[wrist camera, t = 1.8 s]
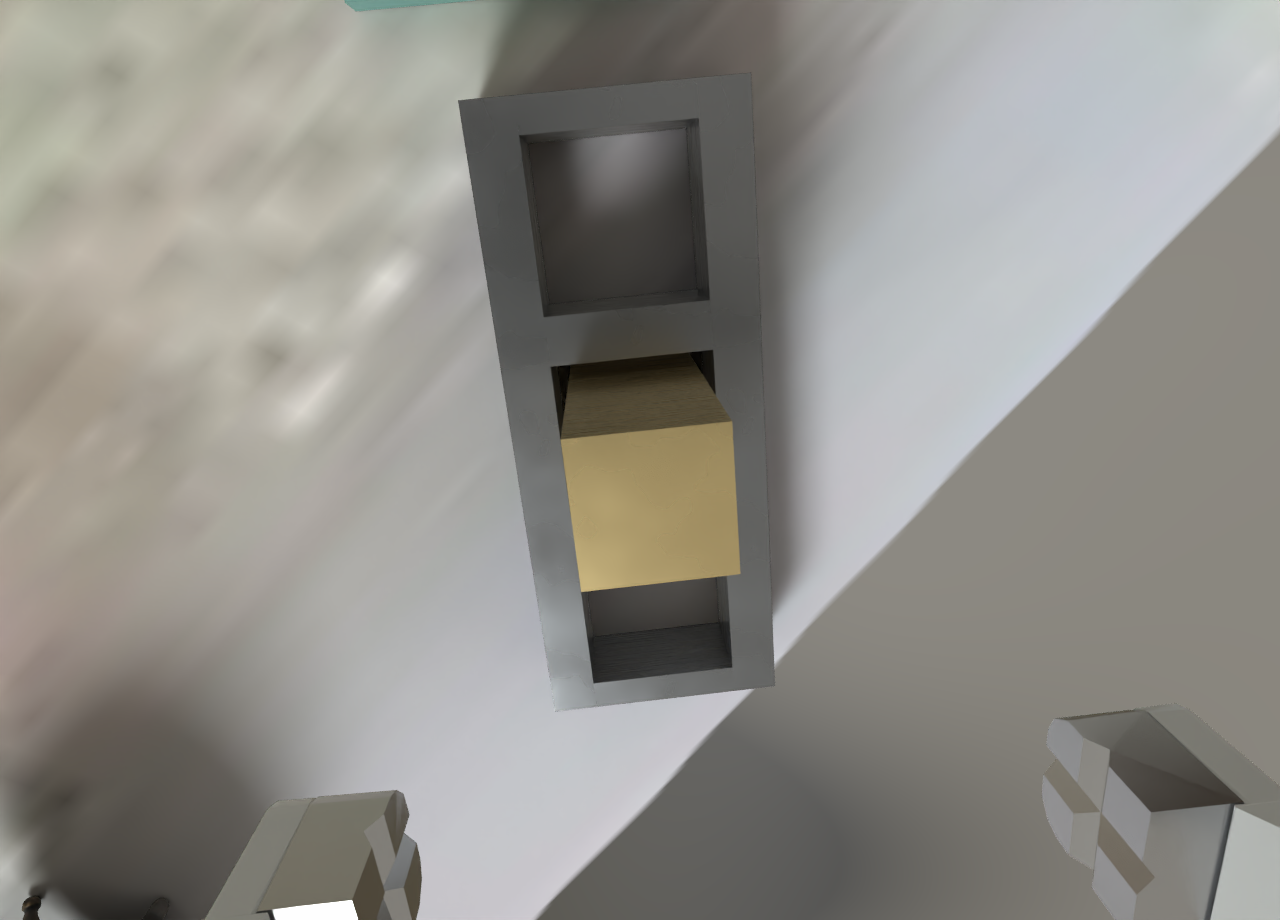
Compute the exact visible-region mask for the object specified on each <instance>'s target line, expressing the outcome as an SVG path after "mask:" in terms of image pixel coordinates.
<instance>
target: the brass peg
mask: <svg viewBox="0 0 1280 920" xmlns="http://www.w3.org/2000/svg"><path fill="white" fill-rule="evenodd" d="M561 447H562V454H563V461H564V469H565V476H566V483H567V491H568V498H569V506H570V513H571V520H572V528H573V535H574V542H575V550H576V557H577V565H578V572H579V579H580V587H581V592H586V591H595V590H604V589H613V588H622V587H630V586H639V585H648V584H657V583H666V582H675V581H684V580H693V579H702V578H711V577H720V576H728V575H737V574H740V556H739V538H738V519H737V501H736V482H735V464H734V445H733V426H732V420H731V419H730V417H729V415H728V414H727V412H726V411H725V409H724V408H723V406H722V404H721V403H720V401H719V400H718V398H717V397H716V395H715V393H714V392H713V390H712V389H711V387H710V386H709V384H708V382H707V381H706V379H705V378H704V376H703V375H702V373H701V371H700V370H699V368H698V367H697V365H696V363H695V362H694V360H693V359H692V357H691V356H690V354H689V352H687V353H677V354H667V355H658V356H648V357H639V358H629V359H620V360H610V361H600V362H591V363H581V364H572V365H571V368H570V376H569V383H568V390H567V397H566V404H565V411H564V419H563V426H562V433H561Z"/></svg>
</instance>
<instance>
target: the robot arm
mask: <svg viewBox="0 0 1280 920" xmlns="http://www.w3.org/2000/svg"><path fill="white" fill-rule="evenodd" d="M1047 746H1048V748H1049V749H1050V750H1051V751H1052V752H1053V754H1054V755H1055V756H1056V758H1057V759H1056V760H1055V761H1054V762H1053V764H1052V765H1051V766H1050V767H1049V768H1048V770H1047V771H1046V772H1045V773H1044V774H1043V790H1042V798H1043V802H1044V806H1045V810H1046V814H1047V818H1048V821H1049V823H1050V825H1051V827H1052V829H1053V831H1054V834H1055V836H1056V838H1057V839H1058V841H1059V842H1060V843H1061V845H1062V846H1063V848H1064V849H1065V850H1066V852H1067V854H1068V855H1069V856H1071V857H1072V858H1074V859H1076V860H1077V861H1079V862H1081V863H1082V864H1084V865H1086V866H1087V867H1089V868H1091V869H1092V870H1093V881H1092V889H1093V890H1094V891H1095V893H1096V894H1097V896H1098V897H1099V898H1100V899H1101V901H1102V902H1103V904H1104V905H1105V907H1106V908H1107V909H1108V911H1109V912H1110V913H1111V914H1112V916H1113V918H1114V919H1115V920H1280V786H1279V785H1278V784H1277V783H1276V782H1275V781H1273V780H1272V779H1271V778H1270V777H1269V776H1268V775H1266V774H1265V773H1264V772H1263V771H1262V770H1261V769H1259V768H1258V767H1257V766H1256V765H1255V764H1254V763H1252V762H1251V761H1250V760H1249V759H1247V758H1246V757H1245V756H1244V755H1243V754H1242V753H1241V752H1239V751H1238V750H1237V749H1236V748H1235V747H1234V746H1232V745H1231V744H1230V743H1229V742H1228V741H1227V740H1225V739H1224V738H1223V737H1222V736H1221V735H1219V734H1218V733H1217V732H1216V731H1215V730H1214V729H1212V728H1211V727H1210V726H1209V725H1208V724H1207V723H1205V722H1204V721H1203V720H1202V719H1201V718H1200V717H1198V716H1197V715H1196V714H1195V713H1194V712H1192V711H1191V710H1190V709H1188V708H1186V707H1184V706H1181V705H1179V704H1176V703H1174V704H1165V705H1157V706H1150V707H1142V708H1135V709H1134V710H1123V711H1115V712H1106V713H1097V714H1089V715H1080V716H1072V717H1063V718H1055V719H1054V720H1053V722H1052V724H1051V725H1050V727H1049V729H1048V737H1047ZM408 818H409V811H408V808H407V804H406V801H405V798H404V794H403V793H401V792H399V791H397V790H392V791H380V792H368V793H356V794H344V795H332V796H320V797H318V798H307V799H294V800H282V801H277V802H276V803H275V804H273V805H272V806H271V807H269V808H268V809H267V810H266V812H265V814H264V815H263V817H262V819H261V821H260V823H259V824H258V826H257V828H256V830H255V831H254V833H253V835H252V837H251V838H250V840H249V842H248V844H247V845H246V847H245V849H244V851H243V853H242V854H241V856H240V858H239V860H238V861H237V863H236V865H235V867H234V868H233V870H232V872H231V874H230V875H229V877H228V879H227V881H226V883H225V884H224V886H223V888H222V890H221V891H220V893H219V895H218V897H217V898H216V900H215V902H214V904H213V906H212V907H211V909H210V911H209V913H208V914H207V916H206V918H205V919H203V920H416V918H417V914H418V909H419V905H420V894H421V882H422V874H421V862H420V856H419V851H418V847H417V843H416V842H415V841H414V840H412V839H411V838H410V837H409V836H407V835H406V834H405V833H404V831H405V828H406V824H407V821H408Z"/></svg>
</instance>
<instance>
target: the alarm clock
mask: <svg viewBox="0 0 1280 920" xmlns="http://www.w3.org/2000/svg"><path fill="white" fill-rule="evenodd" d="M40 907H41V899H40V898H38V897H37V896H33V897H29V898H27V899H26V900H25V901H24V903H23V906H22V911H23V912H24V913H25V914H24V917H23V920H40V919H39V917H38V912H37V911H38V909H39V908H40ZM168 907H169V902H168V901H167V900H166V899H164V898H160V899H158V900H156V901H155V902H154V903H153V904H152V906H151V907H150V909H149V910H148V912H147V913H146V915H145V916H144V917H143V919H142V920H163V918H164V916H165V915H166V913H167V911H168Z"/></svg>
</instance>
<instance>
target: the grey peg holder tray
mask: <svg viewBox="0 0 1280 920" xmlns="http://www.w3.org/2000/svg"><path fill="white" fill-rule="evenodd" d="M458 103H459V109H460V116H461V122H462V128H463V135H464V141H465V147H466V153H467V160H468V166H469V172H470V179H471V185H472V191H473V198H474V204H475V210H476V217H477V223H478V229H479V235H480V242H481V248H482V254H483V261H484V267H485V273H486V280H487V286H488V292H489V298H490V305H491V311H492V317H493V324H494V330H495V336H496V343H497V349H498V355H499V361H500V368H501V374H502V380H503V387H504V393H505V399H506V406H507V412H508V418H509V424H510V431H511V437H512V443H513V450H514V456H515V462H516V469H517V475H518V481H519V487H520V494H521V500H522V506H523V513H524V519H525V525H526V532H527V538H528V544H529V551H530V557H531V563H532V569H533V576H534V582H535V588H536V595H537V601H538V607H539V614H540V620H541V626H542V632H543V639H544V645H545V651H546V658H547V664H548V670H549V677H550V683H551V689H552V695H553V702H554V708H555V712H556V711H565V710H573V709H582V708H591V707H599V706H608V705H616V704H625V703H633V702H642V701H651V700H659V699H668V698H676V697H685V696H694V695H702V694H711V693H719V692H728V691H736V690H745V689H754V688H762V687H770V686H775V676H774V649H773V623H772V598H771V572H770V546H769V520H768V495H767V469H766V443H765V418H764V392H763V366H762V340H761V315H760V289H759V263H758V237H757V212H756V186H755V160H754V134H753V109H752V83H751V73H741V74H731V75H720V76H710V77H699V78H689V79H678V80H668V81H657V82H647V83H636V84H626V85H615V86H605V87H594V88H584V89H573V90H563V91H552V92H542V93H531V94H521V95H510V96H499V97H489V98H478V99H468V100H458ZM683 128H686V133H687V148H688V163H689V178H690V193H691V208H692V223H693V238H694V253H695V268H696V283H697V289H694V290H685V291H675V292H665V293H655V294H646V295H636V296H626V297H616V298H606V299H597V300H587V301H577V302H567V303H558V304H549V298H548V291H547V283H546V276H545V268H544V261H543V253H542V246H541V238H540V231H539V223H538V215H537V208H536V200H535V193H534V185H533V178H532V170H531V163H530V155H529V148H528V143H538V142H549V141H559V140H569V139H580V138H590V137H600V136H611V135H621V134H631V133H642V132H652V131H662V130H673V129H683ZM696 351H701V358H702V373H703V376H704V378H705V379H706V381H707V382H708V384H709V386H710V387H711V389H712V390H713V392H714V393H715V395H716V397H717V398H718V400H719V401H720V403H721V404H722V406H723V408H724V409H725V411H726V412H727V414H728V415H729V417H730V419H731V420H732V426H733V445H734V464H735V482H736V501H737V519H738V538H739V556H740V574H737V575H728V576H720V577H716V584H717V599H718V614H719V623H711V624H702V625H694V626H685V627H676V628H667V629H659V630H650V631H641V632H632V633H624V634H615V635H606V636H597V637H593V630H592V623H591V615H590V608H589V600H588V593H587V591H586V592H581V587H580V579H579V572H578V565H577V557H576V550H575V542H574V535H573V528H572V520H571V513H570V506H569V498H568V491H567V483H566V476H565V469H564V461H563V454H562V447H561V433H562V426H563V419H564V412H563V404H562V397H561V389H560V381H559V374H558V366H562V365H572V364H581V363H591V362H600V361H610V360H620V359H629V358H639V357H648V356H658V355H667V354H677V353H687V352H696Z"/></svg>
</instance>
